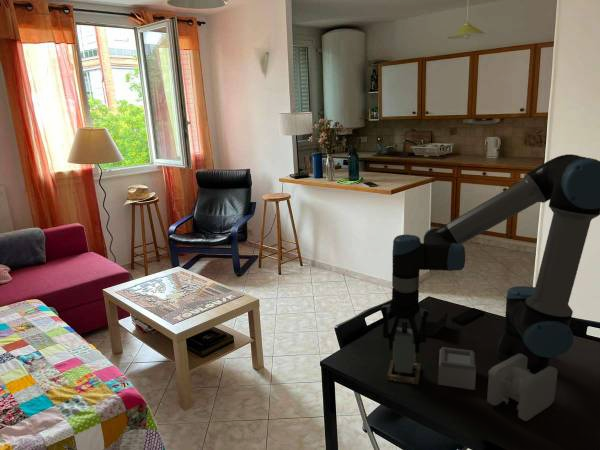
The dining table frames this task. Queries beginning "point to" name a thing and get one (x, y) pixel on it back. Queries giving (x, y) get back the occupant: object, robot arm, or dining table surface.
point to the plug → (403, 349)
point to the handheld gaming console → (433, 327)
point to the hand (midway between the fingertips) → (404, 359)
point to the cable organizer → (522, 386)
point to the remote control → (467, 316)
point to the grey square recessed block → (457, 368)
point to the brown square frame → (404, 378)
